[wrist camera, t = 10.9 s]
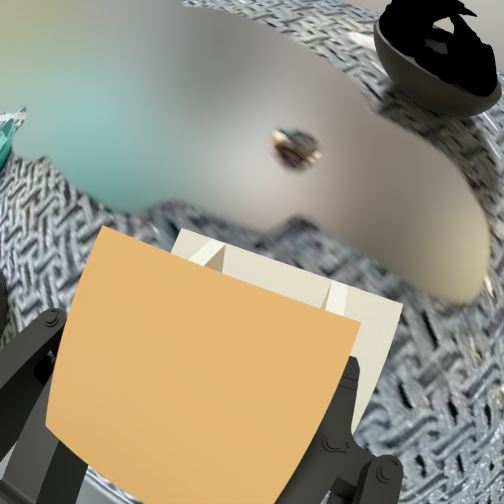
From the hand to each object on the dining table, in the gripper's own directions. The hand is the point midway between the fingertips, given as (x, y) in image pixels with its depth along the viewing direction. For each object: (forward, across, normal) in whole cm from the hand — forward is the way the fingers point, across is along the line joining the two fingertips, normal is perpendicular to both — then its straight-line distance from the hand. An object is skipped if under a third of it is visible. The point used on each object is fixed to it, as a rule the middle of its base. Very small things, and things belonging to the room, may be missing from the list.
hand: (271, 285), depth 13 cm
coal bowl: (+36, +12, +16) cm, 41 cm away
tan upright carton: (0, 0, -5) cm, 5 cm away
